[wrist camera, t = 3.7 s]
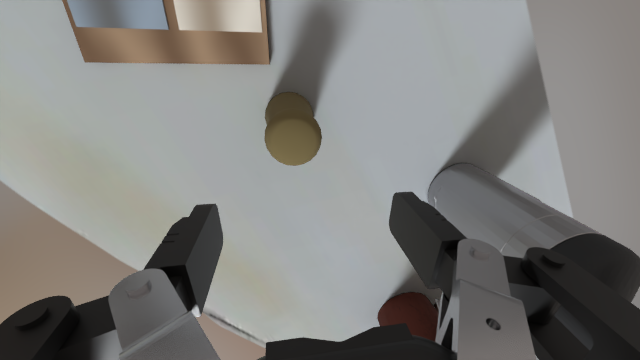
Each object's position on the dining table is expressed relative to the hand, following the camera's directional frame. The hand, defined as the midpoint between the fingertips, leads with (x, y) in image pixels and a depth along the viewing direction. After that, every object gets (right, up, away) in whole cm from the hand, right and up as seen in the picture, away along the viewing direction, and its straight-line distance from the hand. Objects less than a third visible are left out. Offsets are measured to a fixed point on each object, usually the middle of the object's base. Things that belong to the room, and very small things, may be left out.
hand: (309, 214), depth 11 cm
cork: (-3, +10, +20) cm, 22 cm away
